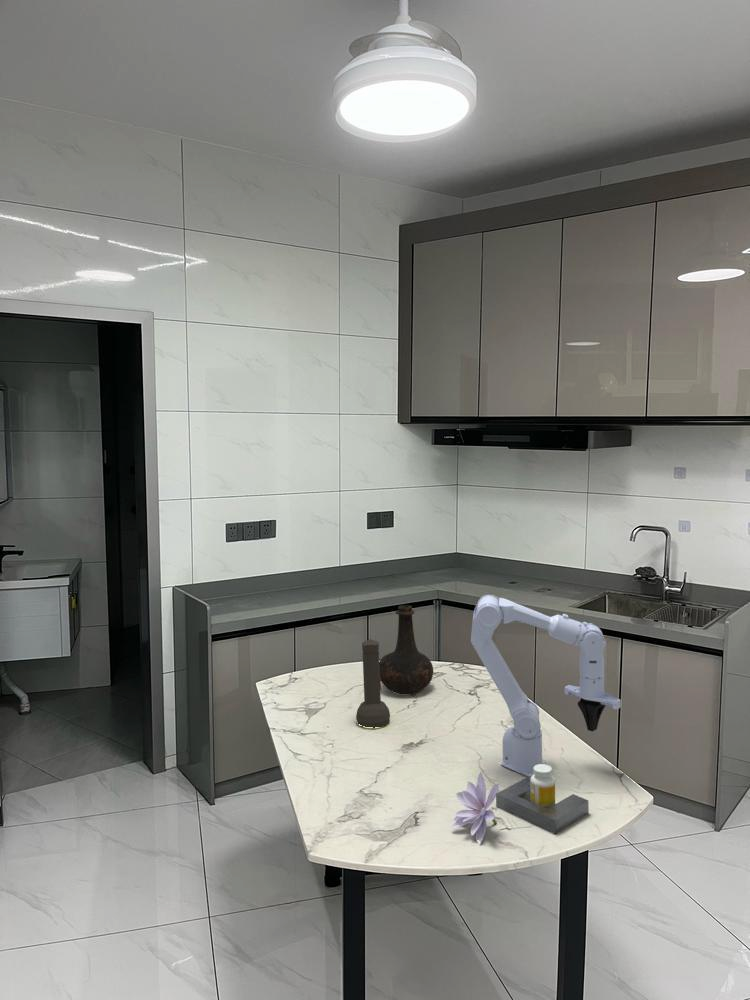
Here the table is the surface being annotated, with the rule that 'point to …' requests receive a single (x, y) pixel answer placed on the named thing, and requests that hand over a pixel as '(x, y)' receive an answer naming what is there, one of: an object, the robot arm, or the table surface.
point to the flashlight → (372, 689)
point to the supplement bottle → (542, 786)
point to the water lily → (476, 807)
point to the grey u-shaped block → (549, 819)
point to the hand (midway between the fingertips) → (592, 729)
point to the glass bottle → (405, 660)
